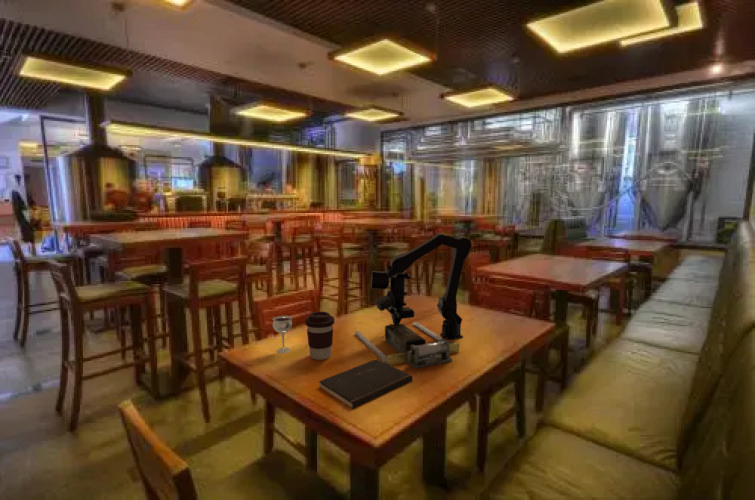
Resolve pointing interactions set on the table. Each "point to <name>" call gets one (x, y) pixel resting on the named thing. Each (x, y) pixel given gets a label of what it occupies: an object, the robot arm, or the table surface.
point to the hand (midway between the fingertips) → (395, 327)
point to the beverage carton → (402, 337)
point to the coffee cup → (320, 334)
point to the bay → (402, 356)
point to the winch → (428, 354)
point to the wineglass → (282, 329)
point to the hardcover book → (365, 382)
